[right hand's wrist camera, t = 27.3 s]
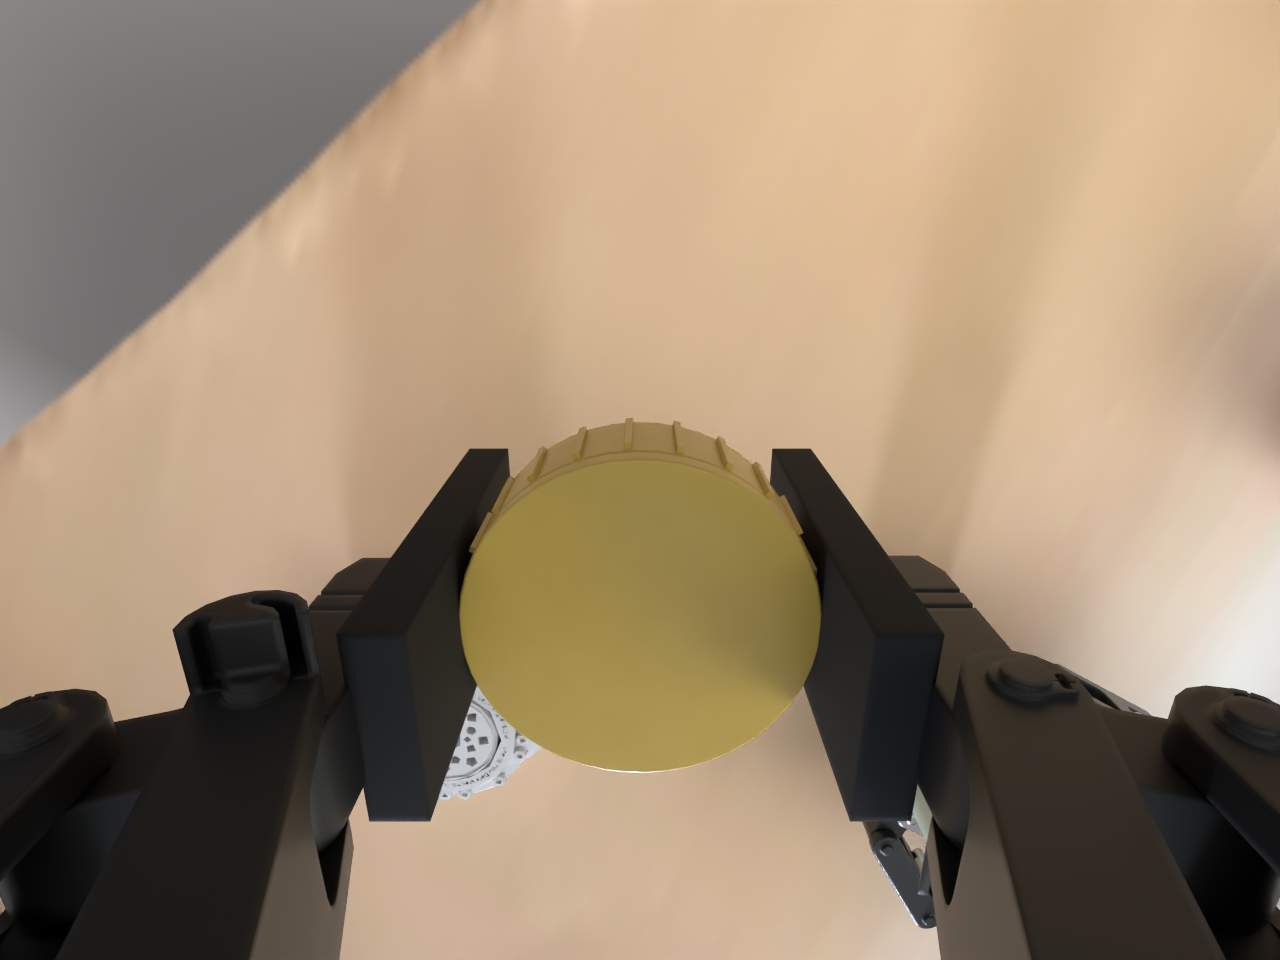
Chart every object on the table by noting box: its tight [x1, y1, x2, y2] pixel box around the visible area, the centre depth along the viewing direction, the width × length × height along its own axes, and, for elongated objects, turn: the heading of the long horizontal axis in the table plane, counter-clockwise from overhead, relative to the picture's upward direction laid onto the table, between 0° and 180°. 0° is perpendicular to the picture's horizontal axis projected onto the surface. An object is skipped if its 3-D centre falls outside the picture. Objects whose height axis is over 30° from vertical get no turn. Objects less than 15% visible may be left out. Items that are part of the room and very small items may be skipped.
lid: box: [459, 418, 822, 773], centre depth 11 cm, size 5×5×2 cm
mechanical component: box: [439, 685, 542, 800], centre depth 33 cm, size 10×4×10 cm
